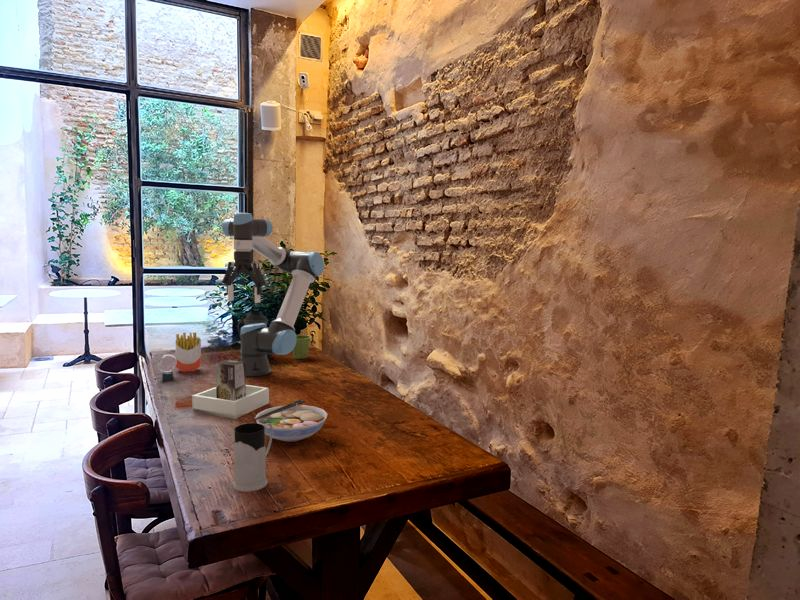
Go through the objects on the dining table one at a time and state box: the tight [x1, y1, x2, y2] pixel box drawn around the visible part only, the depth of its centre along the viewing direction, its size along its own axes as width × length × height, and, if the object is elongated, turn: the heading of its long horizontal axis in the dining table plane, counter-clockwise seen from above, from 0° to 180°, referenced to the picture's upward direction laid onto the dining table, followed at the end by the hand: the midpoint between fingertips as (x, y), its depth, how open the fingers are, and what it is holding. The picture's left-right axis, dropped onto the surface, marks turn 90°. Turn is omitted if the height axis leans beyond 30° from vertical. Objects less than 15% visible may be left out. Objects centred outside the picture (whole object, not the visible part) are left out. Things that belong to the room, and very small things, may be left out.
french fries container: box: [175, 331, 202, 373], centre depth 253 cm, size 5×11×18 cm, turn 105°
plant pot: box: [292, 334, 312, 360], centre depth 285 cm, size 12×12×11 cm
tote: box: [191, 384, 270, 420], centre depth 201 cm, size 19×20×6 cm
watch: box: [156, 354, 177, 382], centre depth 238 cm, size 6×8×11 cm
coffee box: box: [214, 359, 247, 401], centre depth 200 cm, size 9×6×16 cm
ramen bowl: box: [247, 399, 329, 443], centre depth 171 cm, size 25×23×8 cm
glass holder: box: [232, 422, 273, 492], centre depth 141 cm, size 9×14×15 cm, turn 159°
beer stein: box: [237, 310, 273, 361], centre depth 281 cm, size 16×19×25 cm
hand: (244, 301), depth 223 cm, fingers open, 13 cm apart
